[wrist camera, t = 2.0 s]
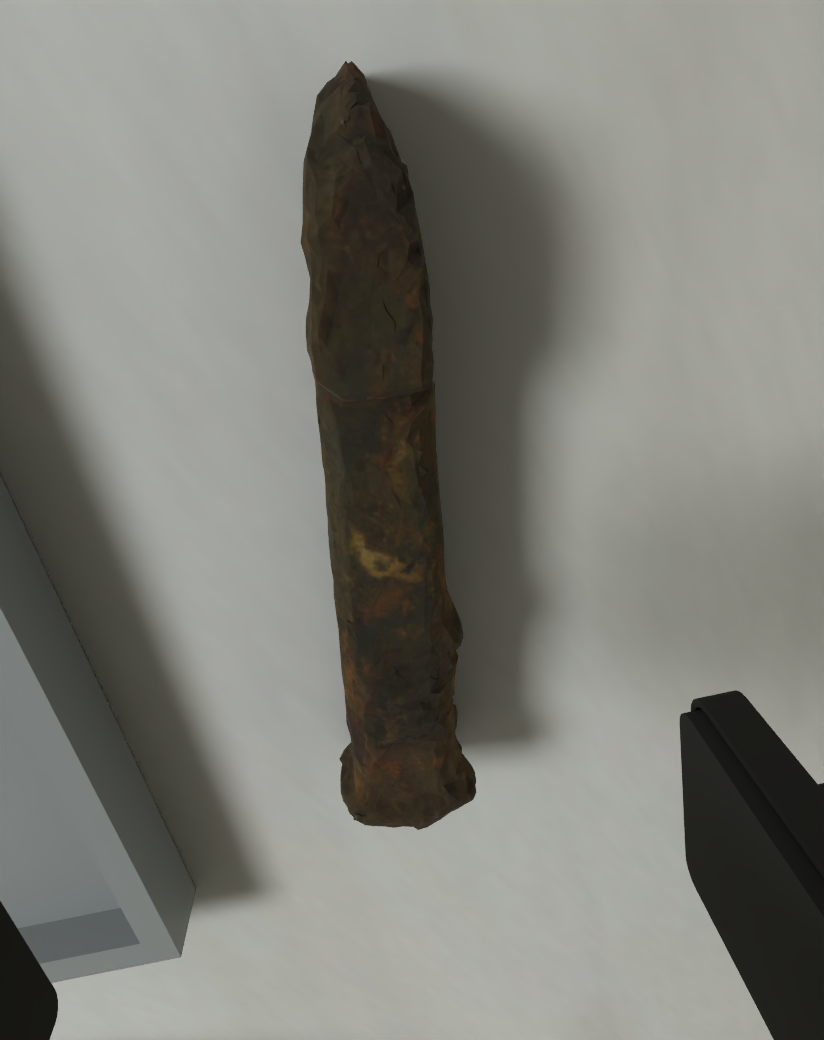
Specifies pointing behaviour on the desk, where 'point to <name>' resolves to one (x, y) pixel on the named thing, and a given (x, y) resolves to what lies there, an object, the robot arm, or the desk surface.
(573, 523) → the desk surface
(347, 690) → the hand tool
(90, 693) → the tray
